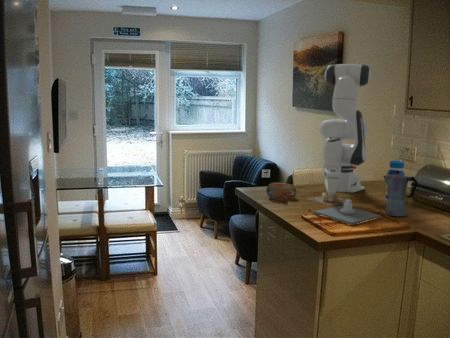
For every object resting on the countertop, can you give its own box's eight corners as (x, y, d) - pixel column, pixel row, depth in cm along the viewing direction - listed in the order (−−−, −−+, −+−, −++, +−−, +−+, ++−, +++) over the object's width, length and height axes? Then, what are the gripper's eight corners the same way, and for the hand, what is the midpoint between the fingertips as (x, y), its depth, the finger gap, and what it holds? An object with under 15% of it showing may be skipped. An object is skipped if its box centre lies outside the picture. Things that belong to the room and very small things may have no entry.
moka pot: (383, 209, 205) (387, 167, 202) (417, 216, 196) (422, 171, 192) (375, 213, 198) (379, 169, 195) (411, 220, 189) (415, 174, 185)
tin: (265, 198, 222) (266, 181, 221) (268, 196, 225) (268, 180, 223) (294, 202, 215) (295, 185, 214) (296, 201, 218) (297, 184, 217)
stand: (327, 197, 226) (328, 186, 225) (353, 204, 213) (354, 192, 212) (305, 201, 216) (306, 189, 215) (331, 209, 204) (332, 196, 203)
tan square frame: (322, 198, 218) (322, 192, 218) (335, 199, 217) (336, 193, 217) (323, 201, 212) (323, 195, 211) (337, 202, 211) (337, 196, 210)
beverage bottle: (403, 202, 220) (407, 163, 216) (385, 201, 221) (389, 162, 218) (400, 199, 228) (404, 160, 225) (383, 197, 230) (386, 159, 226)
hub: (343, 208, 206) (344, 192, 204) (380, 218, 190) (382, 201, 189) (313, 214, 194) (315, 197, 193) (351, 226, 178) (352, 208, 177)
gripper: (323, 167, 223) (321, 193, 225) (326, 174, 203) (324, 203, 205) (336, 167, 222) (334, 194, 224) (340, 175, 202) (338, 204, 204)
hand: (329, 199), depth 214 cm, fingers closed on tan square frame, 7 cm apart
